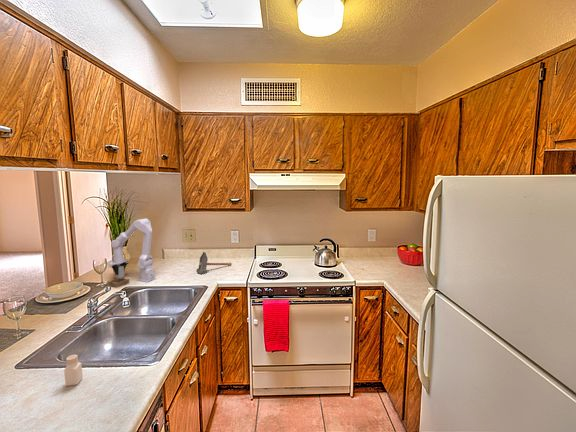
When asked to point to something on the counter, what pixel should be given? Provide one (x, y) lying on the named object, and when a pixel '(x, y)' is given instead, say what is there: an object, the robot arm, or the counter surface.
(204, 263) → the hammer
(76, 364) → the salt shaker
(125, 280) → the frame
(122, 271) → the slate peg
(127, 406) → the counter surface
